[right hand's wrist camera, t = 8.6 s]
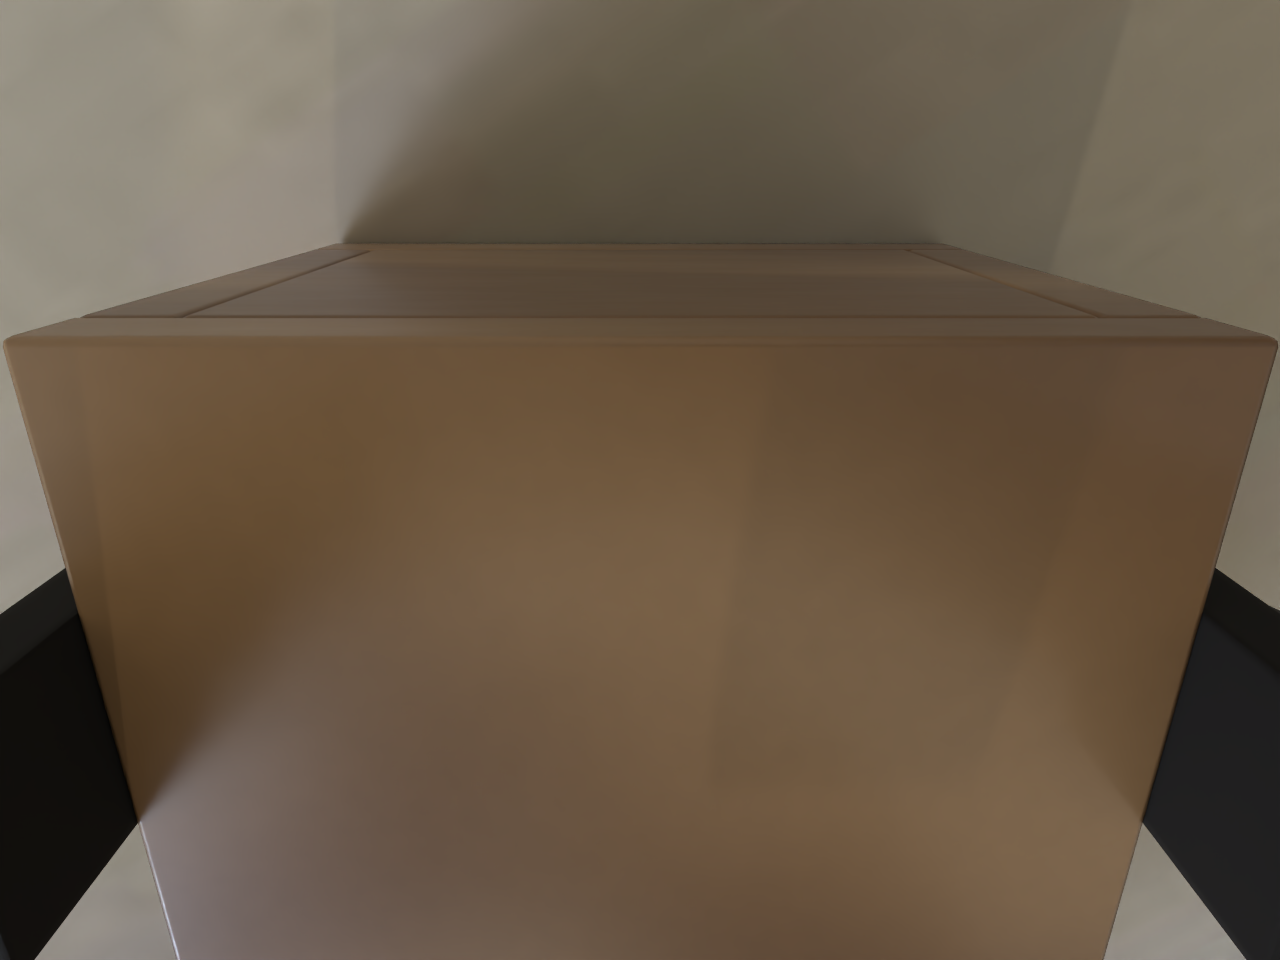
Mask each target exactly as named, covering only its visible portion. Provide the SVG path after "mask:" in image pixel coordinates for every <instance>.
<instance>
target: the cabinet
mask: <svg viewBox="0 0 1280 960" xmlns="http://www.w3.org/2000/svg"><path fill="white" fill-rule="evenodd" d="M3 349H4V352H5V356H6V360H7V363H8V367H9V370H10V374H11V377H12V381H13V384H14V388H15V391H16V395H17V398H18V402H19V405H20V409H21V412H22V416H23V419H24V423H25V426H26V430H27V434H28V437H29V441H30V444H31V448H32V451H33V455H34V458H35V462H36V465H37V469H38V472H39V476H40V479H41V483H42V486H43V490H44V493H45V497H46V500H47V504H48V508H49V511H50V515H51V518H52V522H53V525H54V529H55V532H56V536H57V539H58V543H59V546H60V550H61V553H62V557H63V560H64V564H65V567H66V571H67V574H68V578H69V582H70V585H71V589H72V592H73V596H74V599H75V603H76V606H77V610H78V613H79V617H80V620H81V624H82V627H83V631H84V634H85V638H86V641H87V645H88V648H89V652H90V656H91V659H92V663H93V666H94V670H95V673H96V677H97V680H98V684H99V687H100V691H101V694H102V698H103V701H104V705H105V708H106V712H107V715H108V719H109V722H110V726H111V730H112V733H113V737H114V740H115V744H116V747H117V751H118V754H119V758H120V761H121V765H122V768H123V772H124V775H125V779H126V782H127V786H128V789H129V793H130V796H131V800H132V804H133V807H134V811H135V814H136V818H137V821H138V825H139V828H140V832H141V835H142V839H143V842H144V846H145V849H146V853H147V856H148V860H149V863H150V867H151V870H152V874H153V878H154V881H155V885H156V888H157V892H158V895H159V899H160V902H161V906H162V909H163V913H164V916H165V920H166V923H167V927H168V930H169V934H170V937H171V941H172V944H173V948H174V952H175V955H176V959H177V960H1103V959H1104V956H1105V952H1106V949H1107V945H1108V942H1109V938H1110V935H1111V931H1112V928H1113V924H1114V921H1115V917H1116V914H1117V910H1118V907H1119V903H1120V899H1121V896H1122V892H1123V889H1124V885H1125V882H1126V878H1127V875H1128V871H1129V868H1130V864H1131V861H1132V857H1133V854H1134V850H1135V847H1136V843H1137V840H1138V836H1139V833H1140V829H1141V826H1142V822H1143V819H1144V815H1145V812H1146V808H1147V805H1148V801H1149V798H1150V794H1151V791H1152V787H1153V784H1154V780H1155V777H1156V773H1157V770H1158V766H1159V763H1160V759H1161V756H1162V752H1163V749H1164V745H1165V742H1166V738H1167V735H1168V731H1169V728H1170V724H1171V721H1172V717H1173V714H1174V710H1175V707H1176V703H1177V700H1178V696H1179V693H1180V689H1181V686H1182V682H1183V679H1184V675H1185V672H1186V668H1187V665H1188V661H1189V658H1190V654H1191V651H1192V647H1193V644H1194V640H1195V637H1196V633H1197V630H1198V626H1199V623H1200V619H1201V615H1202V612H1203V608H1204V605H1205V601H1206V598H1207V594H1208V591H1209V587H1210V584H1211V580H1212V577H1213V573H1214V570H1215V566H1216V563H1217V559H1218V556H1219V552H1220V549H1221V545H1222V542H1223V538H1224V535H1225V531H1226V528H1227V524H1228V521H1229V517H1230V514H1231V510H1232V507H1233V503H1234V500H1235V496H1236V493H1237V489H1238V486H1239V482H1240V479H1241V475H1242V472H1243V468H1244V465H1245V461H1246V458H1247V454H1248V451H1249V447H1250V444H1251V440H1252V437H1253V433H1254V430H1255V426H1256V423H1257V419H1258V416H1259V412H1260V409H1261V405H1262V402H1263V398H1264V395H1265V391H1266V388H1267V384H1268V381H1269V377H1270V374H1271V370H1272V367H1273V363H1274V360H1275V356H1276V353H1277V349H1278V343H1277V341H1276V340H1275V339H1274V338H1272V337H1270V336H1267V335H1264V334H1260V333H1257V332H1253V331H1249V330H1246V329H1242V328H1239V327H1235V326H1232V325H1228V324H1225V323H1221V322H1218V321H1214V320H1210V319H1207V318H1201V317H1198V316H1196V315H1193V314H1190V313H1186V312H1183V311H1179V310H1175V309H1172V308H1168V307H1165V306H1161V305H1158V304H1154V303H1151V302H1147V301H1144V300H1140V299H1136V298H1133V297H1129V296H1126V295H1122V294H1119V293H1115V292H1112V291H1108V290H1105V289H1101V288H1097V287H1094V286H1090V285H1087V284H1083V283H1080V282H1076V281H1073V280H1069V279H1066V278H1062V277H1058V276H1055V275H1051V274H1048V273H1044V272H1041V271H1037V270H1034V269H1030V268H1026V267H1023V266H1019V265H1016V264H1012V263H1009V262H1005V261H1002V260H998V259H995V258H991V257H987V256H984V255H980V254H977V253H973V252H970V251H966V250H962V249H960V248H956V247H952V246H949V245H945V244H333V245H330V246H326V247H323V248H319V249H317V250H313V251H309V252H306V253H302V254H299V255H295V256H292V257H288V258H285V259H281V260H278V261H274V262H271V263H267V264H264V265H260V266H257V267H253V268H249V269H246V270H242V271H239V272H235V273H232V274H228V275H225V276H221V277H218V278H214V279H211V280H207V281H204V282H200V283H197V284H193V285H190V286H186V287H183V288H179V289H175V290H172V291H168V292H165V293H161V294H158V295H154V296H151V297H147V298H144V299H140V300H137V301H133V302H130V303H126V304H123V305H119V306H116V307H112V308H109V309H105V310H101V311H98V312H94V313H91V314H87V315H85V316H83V317H81V318H73V319H70V320H66V321H63V322H59V323H56V324H52V325H49V326H45V327H42V328H38V329H34V330H31V331H27V332H24V333H20V334H17V335H13V336H11V337H9V338H7V339H5V340H4V343H3Z"/></svg>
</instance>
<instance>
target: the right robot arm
mask: <svg viewBox="0 0 1280 960" xmlns="http://www.w3.org/2000/svg"><path fill="white" fill-rule="evenodd" d="M137 823H138V821H137V818H136V814H135V811H134V807H133V804H132V800H131V796H130V793H129V789H128V786H127V782H126V779H125V775H124V772H123V768H122V765H121V761H120V758H119V754H118V751H117V747H116V744H115V740H114V737H113V733H112V730H111V726H110V722H109V719H108V715H107V712H106V708H105V705H104V701H103V698H102V694H101V691H100V687H99V684H98V680H97V677H96V673H95V670H94V666H93V663H92V659H91V656H90V652H89V648H88V645H87V641H86V638H85V634H84V631H83V627H82V624H81V620H80V617H79V613H78V610H77V606H76V603H75V599H74V596H73V592H72V589H71V585H70V582H69V578H68V574H67V571H66V568H65V569H63V570H62V571H61V572H59V573H58V574H56V575H55V576H54V577H52V578H51V579H49V580H48V581H46V582H45V583H44V584H42V585H41V586H39V587H38V588H37V589H35V590H34V591H32V592H31V593H30V594H28V595H27V596H25V597H24V598H23V599H21V600H20V601H18V602H17V603H16V604H14V605H13V606H11V607H10V608H9V609H7V610H6V611H4V612H3V613H1V614H0V960H35V958H36V957H37V956H38V954H39V953H40V952H41V950H42V949H43V948H44V946H45V945H46V944H47V942H48V941H49V940H50V938H51V937H52V936H53V934H54V933H55V932H56V930H57V929H58V928H59V926H60V925H61V924H62V923H63V921H64V920H65V919H66V917H67V916H68V915H69V913H70V912H71V911H72V909H73V908H74V907H75V905H76V904H77V903H78V901H79V900H80V899H81V897H82V896H83V895H84V893H85V892H86V891H87V889H88V888H89V887H90V886H91V884H92V883H93V882H94V880H95V879H96V878H97V876H98V875H99V874H100V872H101V871H102V870H103V868H104V867H105V866H106V864H107V863H108V862H109V860H110V859H111V858H112V856H113V855H114V854H115V852H116V851H117V850H118V849H119V847H120V846H121V845H122V843H123V842H124V841H125V839H126V838H127V837H128V835H129V834H130V833H131V831H132V830H133V829H134V827H135V826H136V825H137ZM1143 823H1144V825H1145V826H1146V827H1147V829H1148V830H1149V831H1150V833H1151V834H1152V835H1153V837H1154V838H1155V839H1156V841H1157V842H1158V843H1159V845H1160V846H1161V847H1162V849H1163V850H1164V851H1165V853H1166V854H1167V855H1168V857H1169V858H1170V859H1171V860H1172V862H1173V863H1174V864H1175V866H1176V867H1177V868H1178V870H1179V871H1180V872H1181V874H1182V875H1183V876H1184V878H1185V879H1186V880H1187V882H1188V883H1189V884H1190V886H1191V887H1192V888H1193V890H1194V891H1195V892H1196V894H1197V895H1198V896H1199V897H1200V899H1201V900H1202V901H1203V903H1204V904H1205V905H1206V907H1207V908H1208V909H1209V911H1210V912H1211V913H1212V915H1213V916H1214V917H1215V919H1216V920H1217V921H1218V923H1219V924H1220V925H1221V927H1222V928H1223V929H1224V931H1225V932H1226V933H1227V934H1228V936H1229V937H1230V938H1231V940H1232V941H1233V942H1234V944H1235V945H1236V946H1237V948H1238V949H1239V950H1240V952H1241V953H1242V954H1243V956H1244V957H1245V958H1246V960H1280V611H1279V610H1277V609H1275V608H1273V607H1271V606H1268V605H1267V604H1265V603H1264V602H1263V601H1261V600H1260V599H1258V598H1257V597H1256V596H1254V595H1253V594H1251V593H1250V592H1249V591H1247V590H1246V589H1244V588H1243V587H1242V586H1240V585H1239V584H1237V583H1236V582H1235V581H1233V580H1232V579H1230V578H1229V577H1227V576H1226V575H1225V574H1223V573H1222V572H1220V571H1219V570H1218V569H1216V568H1215V570H1214V573H1213V577H1212V580H1211V584H1210V587H1209V591H1208V594H1207V598H1206V601H1205V605H1204V608H1203V612H1202V615H1201V619H1200V623H1199V626H1198V630H1197V633H1196V637H1195V640H1194V644H1193V647H1192V651H1191V654H1190V658H1189V661H1188V665H1187V668H1186V672H1185V675H1184V679H1183V682H1182V686H1181V689H1180V693H1179V696H1178V700H1177V703H1176V707H1175V710H1174V714H1173V717H1172V721H1171V724H1170V728H1169V731H1168V735H1167V738H1166V742H1165V745H1164V749H1163V752H1162V756H1161V759H1160V763H1159V766H1158V770H1157V773H1156V777H1155V780H1154V784H1153V787H1152V791H1151V794H1150V798H1149V801H1148V805H1147V808H1146V812H1145V815H1144V819H1143Z"/></svg>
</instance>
